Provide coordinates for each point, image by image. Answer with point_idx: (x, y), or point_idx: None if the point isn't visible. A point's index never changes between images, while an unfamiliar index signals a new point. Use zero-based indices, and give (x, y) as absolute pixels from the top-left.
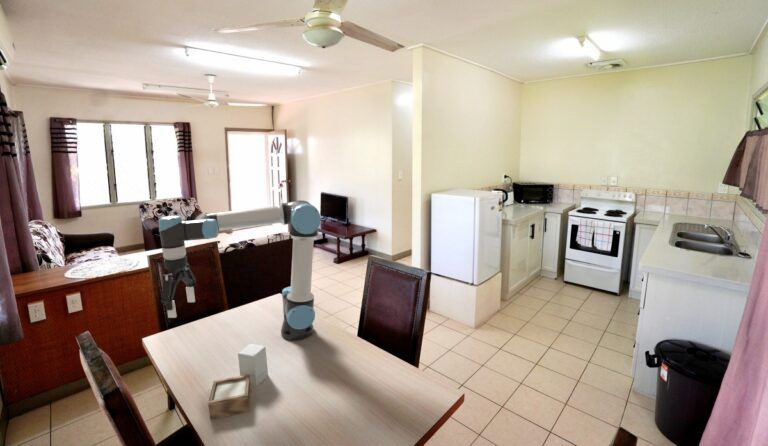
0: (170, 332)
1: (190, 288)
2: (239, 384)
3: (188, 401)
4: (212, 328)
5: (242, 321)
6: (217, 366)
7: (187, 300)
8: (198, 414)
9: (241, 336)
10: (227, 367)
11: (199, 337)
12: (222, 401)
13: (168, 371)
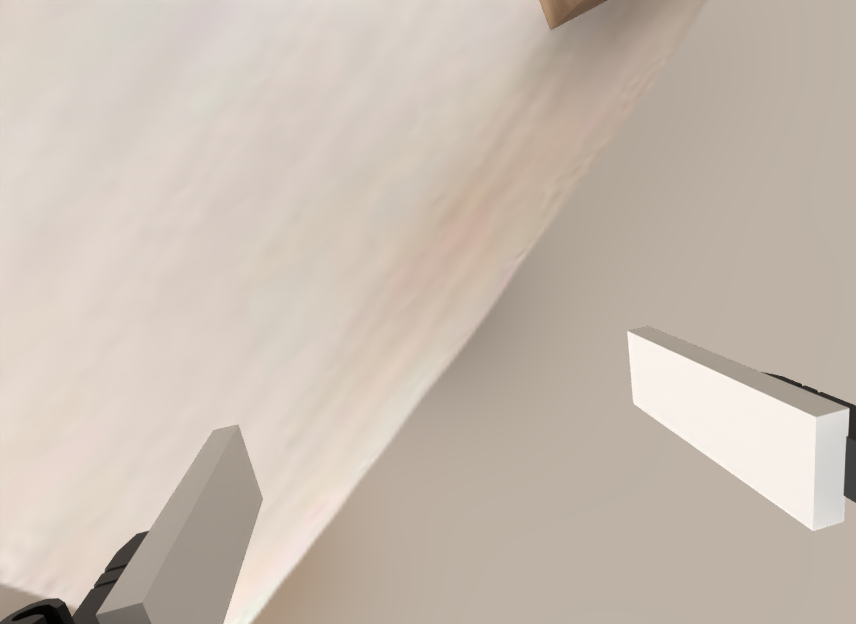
0: None
1: (168, 614)
2: None
3: (591, 131)
4: (17, 444)
5: None
6: (352, 165)
7: (257, 515)
8: (654, 34)
9: (38, 215)
10: (348, 106)
11: (133, 441)
12: None
13: (429, 363)
